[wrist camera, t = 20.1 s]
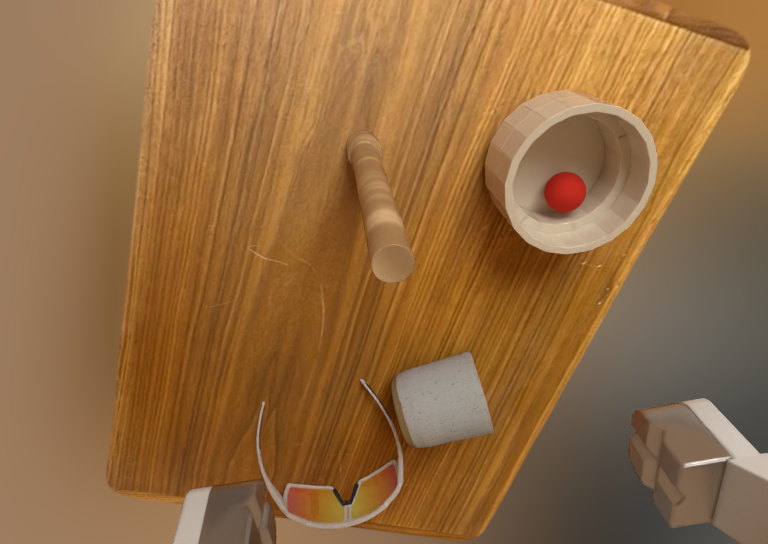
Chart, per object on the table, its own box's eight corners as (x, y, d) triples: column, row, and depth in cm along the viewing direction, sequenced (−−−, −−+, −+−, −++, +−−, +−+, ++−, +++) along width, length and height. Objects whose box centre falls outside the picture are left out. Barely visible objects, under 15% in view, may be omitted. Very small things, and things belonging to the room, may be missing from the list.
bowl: (479, 101, 41) (502, 118, 36) (621, 78, 41) (666, 91, 36) (485, 233, 46) (506, 265, 41) (612, 212, 46) (649, 240, 41)
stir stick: (358, 123, 41) (386, 227, 23) (386, 142, 42) (433, 256, 24) (339, 151, 42) (353, 272, 24) (367, 169, 42) (399, 298, 25)
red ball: (562, 177, 40) (577, 216, 41) (586, 161, 42) (599, 199, 42) (530, 185, 43) (544, 220, 44) (553, 170, 45) (566, 205, 45)
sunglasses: (286, 506, 59) (281, 543, 55) (245, 393, 54) (236, 423, 49) (410, 478, 59) (416, 512, 55) (381, 362, 54) (385, 389, 49)
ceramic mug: (383, 360, 51) (392, 418, 45) (464, 334, 51) (486, 389, 44) (413, 434, 57) (425, 495, 50) (487, 411, 56) (510, 470, 49)
